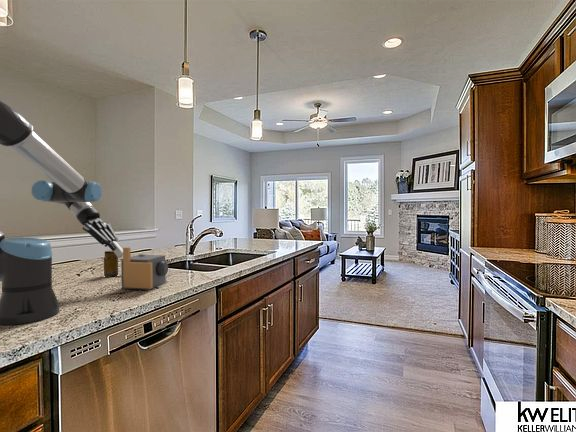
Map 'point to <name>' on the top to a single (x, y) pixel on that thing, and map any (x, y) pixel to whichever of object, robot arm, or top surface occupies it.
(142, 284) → the door
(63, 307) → the top surface
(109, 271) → the condiment
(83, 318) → the top surface
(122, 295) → the top surface
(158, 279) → the housing
